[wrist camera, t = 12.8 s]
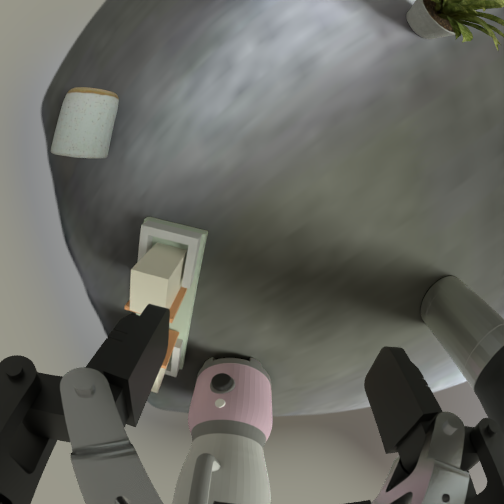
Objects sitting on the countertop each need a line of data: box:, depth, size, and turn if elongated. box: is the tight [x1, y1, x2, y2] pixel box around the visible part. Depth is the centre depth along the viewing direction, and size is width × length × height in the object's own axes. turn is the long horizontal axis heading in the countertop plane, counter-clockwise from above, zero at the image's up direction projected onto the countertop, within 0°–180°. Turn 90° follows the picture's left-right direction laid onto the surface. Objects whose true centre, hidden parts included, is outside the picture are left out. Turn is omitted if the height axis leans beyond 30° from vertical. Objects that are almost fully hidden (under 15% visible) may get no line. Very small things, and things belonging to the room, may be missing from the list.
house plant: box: [406, 0, 504, 50], centre depth 15 cm, size 14×14×16 cm
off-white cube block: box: [125, 242, 187, 323], centre depth 31 cm, size 6×6×8 cm
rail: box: [136, 217, 208, 393], centre depth 33 cm, size 8×23×10 cm, turn 166°
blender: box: [173, 357, 272, 504], centre depth 28 cm, size 16×12×32 cm
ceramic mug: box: [51, 87, 119, 158], centre depth 26 cm, size 11×8×8 cm
